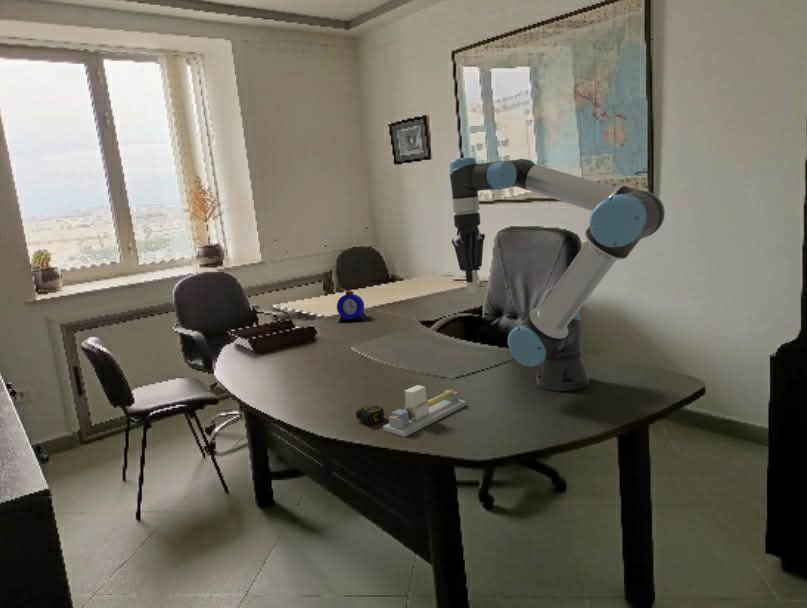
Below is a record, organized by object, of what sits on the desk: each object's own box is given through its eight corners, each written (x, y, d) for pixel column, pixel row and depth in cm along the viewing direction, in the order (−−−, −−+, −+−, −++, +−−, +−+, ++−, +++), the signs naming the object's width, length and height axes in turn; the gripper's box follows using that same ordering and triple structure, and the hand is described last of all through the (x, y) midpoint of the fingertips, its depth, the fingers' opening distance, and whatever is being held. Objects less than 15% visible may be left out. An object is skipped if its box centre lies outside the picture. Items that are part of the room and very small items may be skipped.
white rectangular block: (419, 411, 168) (416, 384, 167) (429, 414, 165) (426, 387, 164) (406, 417, 165) (403, 390, 163) (416, 420, 162) (413, 392, 160)
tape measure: (355, 421, 170) (354, 409, 170) (376, 414, 174) (375, 402, 173) (368, 428, 165) (366, 415, 164) (389, 420, 168) (388, 408, 168)
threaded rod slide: (445, 400, 179) (443, 383, 178) (466, 405, 173) (464, 388, 172) (383, 430, 162) (381, 412, 161) (404, 436, 156) (402, 418, 155)
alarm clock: (337, 323, 296) (333, 293, 293) (344, 317, 307) (340, 288, 304) (362, 321, 293) (358, 291, 290) (367, 315, 305) (364, 286, 302)
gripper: (470, 210, 184) (476, 287, 189) (442, 215, 175) (449, 296, 180) (490, 209, 179) (496, 288, 183) (462, 214, 170) (469, 297, 175)
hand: (473, 292), depth 182 cm, fingers closed
